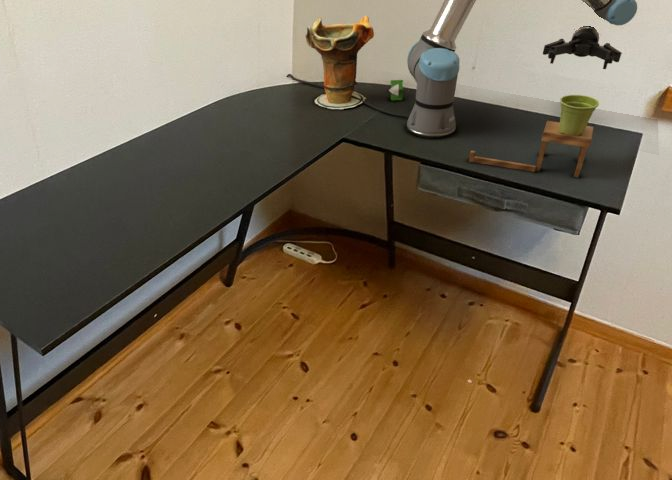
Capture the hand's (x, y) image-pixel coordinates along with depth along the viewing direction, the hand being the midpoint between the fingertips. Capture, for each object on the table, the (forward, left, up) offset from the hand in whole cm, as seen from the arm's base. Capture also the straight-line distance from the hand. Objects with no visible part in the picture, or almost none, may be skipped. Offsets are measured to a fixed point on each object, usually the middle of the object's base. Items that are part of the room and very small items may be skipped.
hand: (578, 61), depth 166 cm
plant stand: (-6, -15, -24) cm, 29 cm away
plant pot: (+3, -15, -15) cm, 21 cm away
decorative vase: (-74, +10, -25) cm, 79 cm away
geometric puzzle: (-55, +19, -25) cm, 64 cm away
